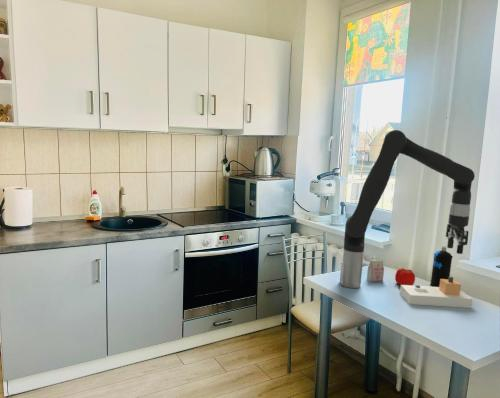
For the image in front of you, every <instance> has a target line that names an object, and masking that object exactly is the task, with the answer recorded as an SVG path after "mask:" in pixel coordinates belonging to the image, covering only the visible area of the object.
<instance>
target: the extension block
mask: <svg viewBox="0 0 500 398" xmlns="http://www.w3.org/2000/svg"><path fill="white" fill-rule="evenodd" d="M399 294H400V295H401V296H402V297H403V298H404V299H405V301H406V302H407V304H409V305H422V306H437V307H454V308H466V309H469V308H470V309H471V308H472V306H473V305H472V304H473V298H472V297H471V296H469V295H468V294H466V293H465V292H464V291H463V290H461V289H460V295H445V294H443V293H442V292H441V291H440V290H439V287H431V286H427V285H426V286H425V285H424V286H423V285H419V284H418V285H400V289H399Z"/></svg>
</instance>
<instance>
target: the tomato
mask: <svg viewBox="0 0 500 398" xmlns="http://www.w3.org/2000/svg"><path fill="white" fill-rule="evenodd" d="M394 281H395V282H396V284H398V285H399V286H401V285H412V286H414V284H415V281H416V275H415V273H414V272H413V270H412V269H405V268H404V267H401V268H398V269H397V270H396V272H395V277H394Z"/></svg>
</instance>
